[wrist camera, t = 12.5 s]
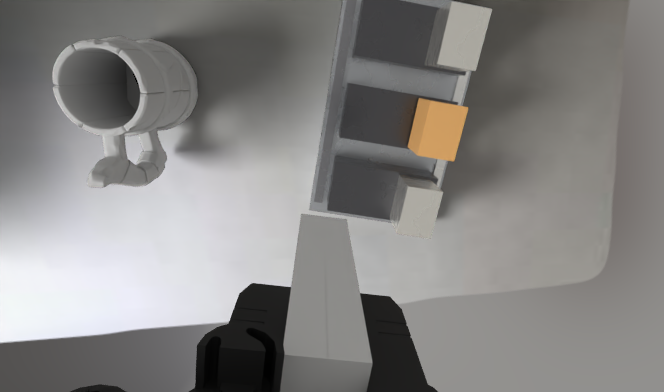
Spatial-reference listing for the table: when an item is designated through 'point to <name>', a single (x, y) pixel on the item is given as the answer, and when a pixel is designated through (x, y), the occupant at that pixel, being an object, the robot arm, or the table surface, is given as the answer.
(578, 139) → the table surface
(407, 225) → the breaker panel
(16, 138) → the table surface
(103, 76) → the mug
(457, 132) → the toggle
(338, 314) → the robot arm
